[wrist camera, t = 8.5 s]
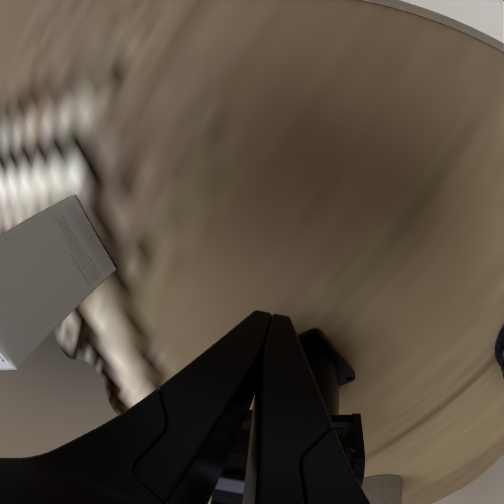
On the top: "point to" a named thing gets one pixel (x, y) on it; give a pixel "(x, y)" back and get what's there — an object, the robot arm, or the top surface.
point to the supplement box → (46, 276)
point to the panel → (460, 16)
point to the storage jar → (500, 349)
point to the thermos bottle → (383, 489)
